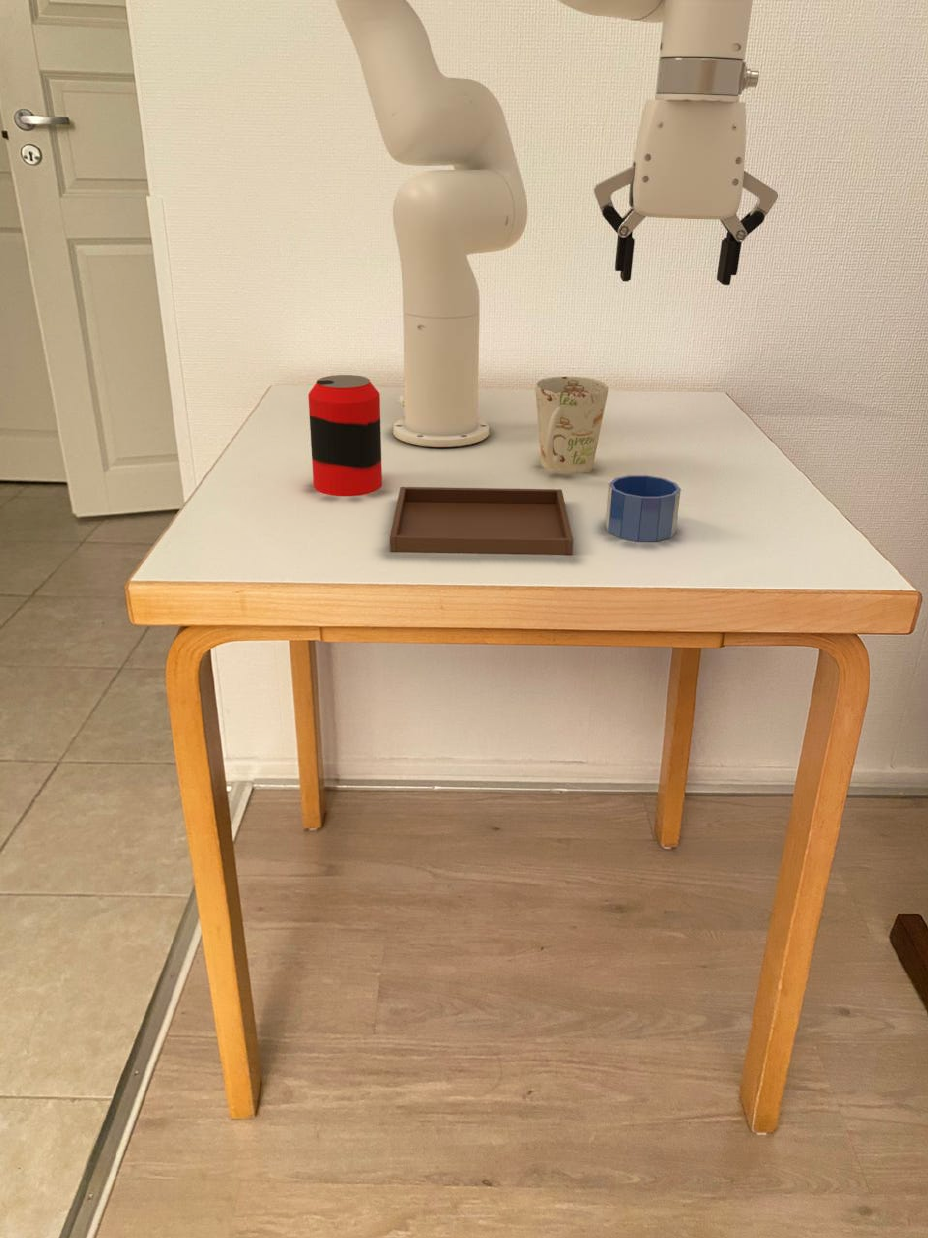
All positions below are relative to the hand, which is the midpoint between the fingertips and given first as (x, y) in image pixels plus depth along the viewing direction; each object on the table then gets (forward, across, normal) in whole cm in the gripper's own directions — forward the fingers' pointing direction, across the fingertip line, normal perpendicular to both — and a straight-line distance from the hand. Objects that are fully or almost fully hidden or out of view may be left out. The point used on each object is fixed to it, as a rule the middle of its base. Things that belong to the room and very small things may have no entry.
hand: (674, 280), depth 96 cm
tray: (+23, +18, +10) cm, 31 cm away
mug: (+24, +9, -8) cm, 26 cm away
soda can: (+24, +33, -1) cm, 41 cm away
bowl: (+23, +2, +10) cm, 25 cm away
